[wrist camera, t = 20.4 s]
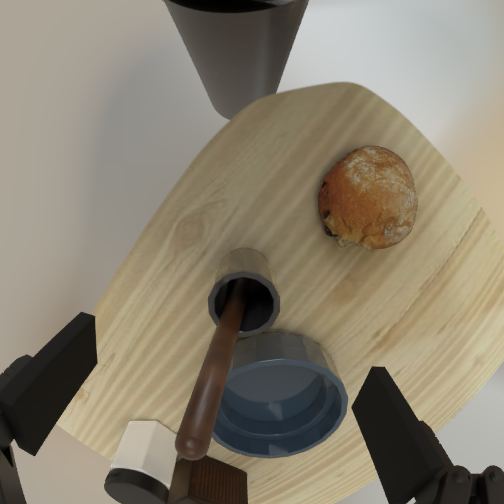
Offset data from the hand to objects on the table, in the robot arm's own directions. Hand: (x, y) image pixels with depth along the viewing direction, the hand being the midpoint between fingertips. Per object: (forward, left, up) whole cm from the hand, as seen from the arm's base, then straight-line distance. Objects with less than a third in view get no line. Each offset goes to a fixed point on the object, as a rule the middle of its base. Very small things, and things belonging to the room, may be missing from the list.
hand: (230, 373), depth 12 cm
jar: (+29, -7, -18) cm, 35 cm away
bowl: (+14, +7, -18) cm, 23 cm away
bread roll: (-9, +11, -18) cm, 23 cm away
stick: (+1, +1, -17) cm, 17 cm away
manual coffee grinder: (+38, +3, -18) cm, 42 cm away
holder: (+1, +1, -18) cm, 18 cm away
